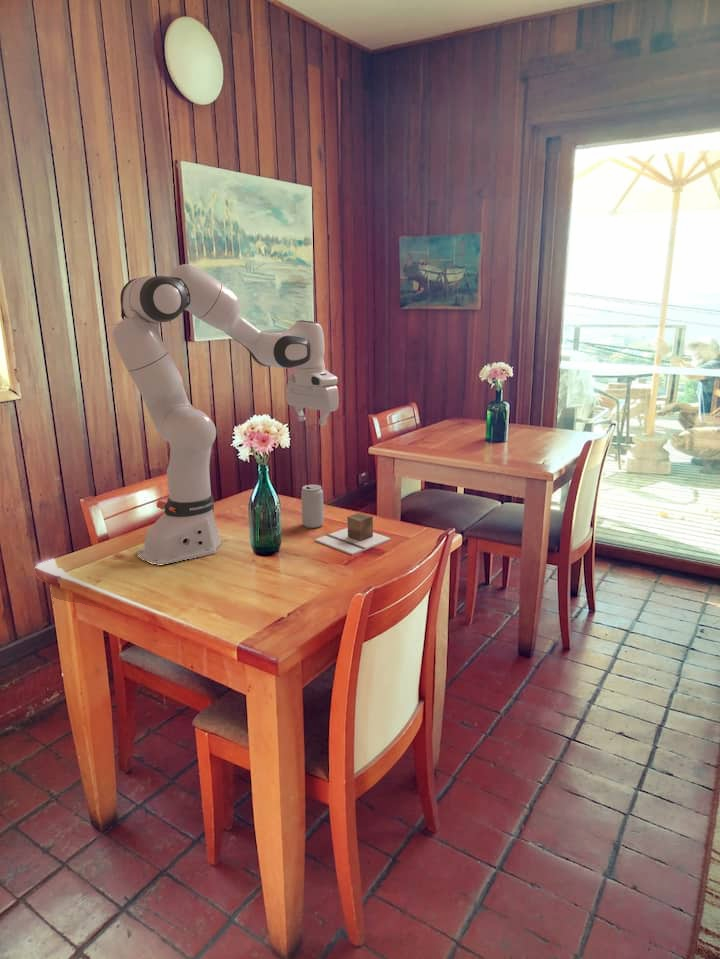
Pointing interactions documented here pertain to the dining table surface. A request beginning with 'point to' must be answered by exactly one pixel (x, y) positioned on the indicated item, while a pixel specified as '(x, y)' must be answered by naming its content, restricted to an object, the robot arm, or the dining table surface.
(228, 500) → the dining table surface
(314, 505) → the beverage can
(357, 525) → the walnut block
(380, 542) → the board
